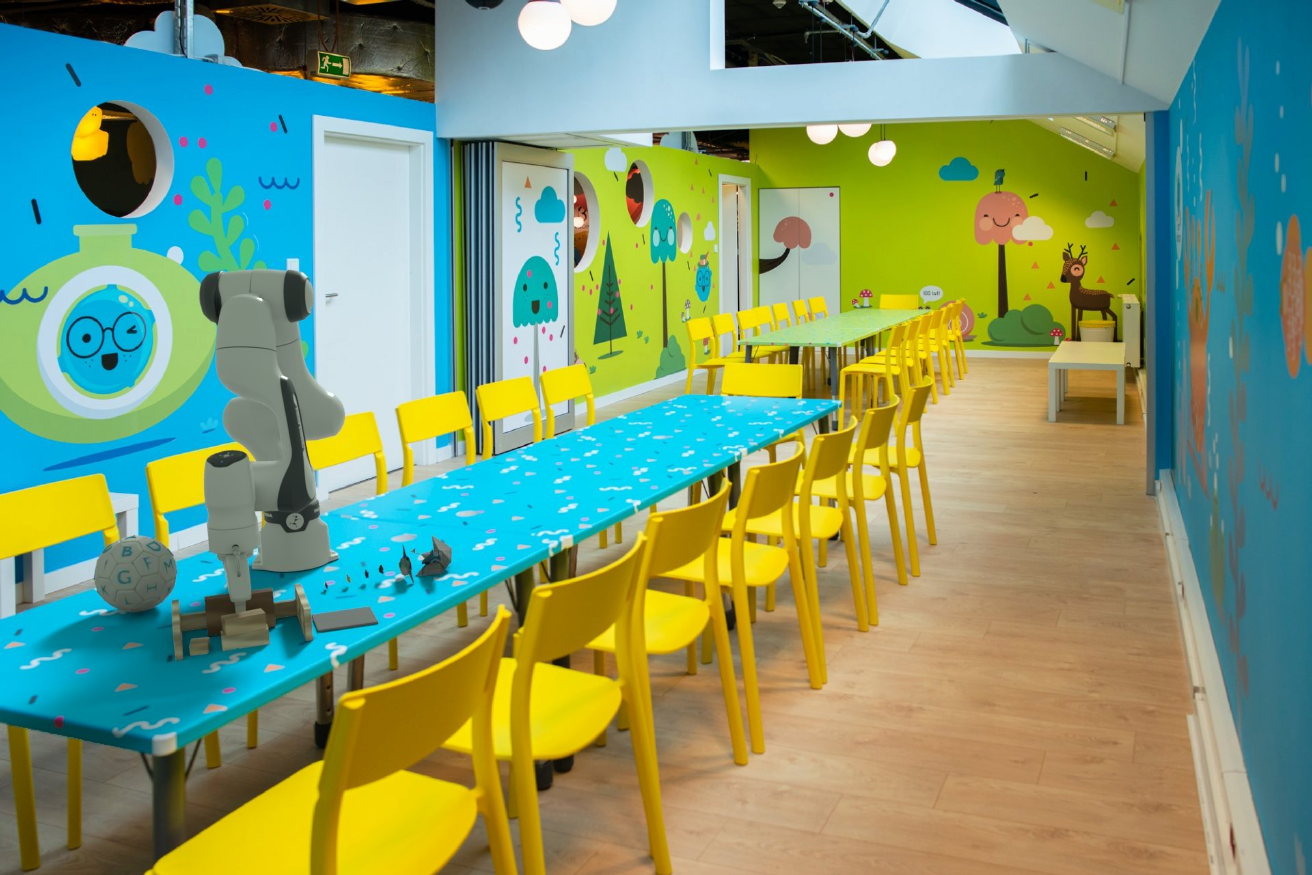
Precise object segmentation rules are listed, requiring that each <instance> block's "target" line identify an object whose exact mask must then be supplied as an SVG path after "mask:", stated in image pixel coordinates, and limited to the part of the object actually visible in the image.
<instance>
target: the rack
mask: <svg viewBox="0 0 1312 875" xmlns="http://www.w3.org/2000/svg"><path fill="white" fill-rule="evenodd" d="M293 586H294V598H293V599H286V600H277V601H274V610H275V618H276V619H280V618H281V619H282V618H289V616H290V617H297V619H298V621H299V624H300V626H301V630H302V633H303V636H304V639H305V641H306V642H309V641H313V640H314V633H313V621H312V620H313V618H312V609H311V606H310V604H309V600H308V598H307V595H306V593H305V590H304V588H303V586H302V584H301V583H294V585H293ZM171 620H172V621H171V622H172V624H171V625H172V629H171V630H172V636H173V637H172V638H173V639H172V640H173V649H174V656H175V657H174V659H175V661H182V660H183V659H184V652H183V651H184V650H183V632H190V631H195V630H202V629H204V630H205V629H207V622H206V611H205V610H204V611H197V612H189V613H188V612H187V613H181V609H180V599H172V600H171Z"/></svg>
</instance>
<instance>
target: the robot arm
mask: <svg viewBox="0 0 1312 875" xmlns="http://www.w3.org/2000/svg"><path fill="white" fill-rule="evenodd" d="M199 287H200V288H199V292H198V302H199V305H200V308H201V312H202V314H203V315H204V316H205V318H206V319H208V320H209V322H211V323H214V324H215V325H216V326H217V330H216V335H215V336H216V338H215V368H216V374H217V377H218V380H219V381H220V383H221V384H222V385H223V387H225V389H227V390H228V391H229V392H231V393H233V394H234V395H236V396H237V397H233V398H231V399H230V400H229V401H228V402H227V403H226V406H225V407H224V409H223V414H222V425H223V428H224V430H225V432H226V433H227V435H228V436H229V438H231V440H233V441H234V442H236V443H238V444H239V445H241V446H242V447H244V449H246V450H247V452H249V453H250V454H251V456H252V457H253V458H254V460H250V458H249V455H248V453H247V452H245V451H243V450H236V449H225V450H222V451H218V452H214V453H213V454H211V455H209V456H207V458H206V460H205V462H204V470H203V497H204V498H203V499H204V505H205V508H206V510H207V513H208V514H207V515H208V516H207V522H206V527H207V528H206V529H207V530H206V531H207V538H208V539H207V540H208V549H209V550H208V551H209V552H210V553H211V554H214V555H215V554H216V558H217V560H218V561H221V562H222V565H223V569H224V573H225V579H226V584H227V589H228V593H229V596H230V600H231V601H232V602H234V603H235V611H236V613H239V612H244V611H246V600H250V599H251V590H252V584H251V575H250V567H249V566H250V565H249V560H248V559H250V558H252V557H253V556H254V550H258V551H257V554H256V556H255V557H254V559H253V561H252V564H251V569H252V570H265V571H270V572H277V573H278V572H280V573H281V572H282V573H283V572H285V573H286V572H287V573H288V572H297V571H298V572H299V571H304V570H305V571H307V570H311V569H315V568H318V567H320V566H324V565H326V564H328V563H330V562H333V561H335V560H338V559H340V556H339V553H338V552H336V551H335V550H333V549H331V545H330V544H331V543H330V535H329V527H328V524H327V523H326V522H325V521H324V520H322V519H321V518H320V515H321V505H320V500H319V499H318V498H317V485H316V471H315V469H314V466H313V465H312V464H311V460H310V456H309V451H308V445H307V442H309V441H319V440H325V439H327V438H331V437H336V436H337V435H338V434H339V433H340V432H341V430H342V429H343V426H344V424H345V419H346V411H345V407H344V404H343V402H342V401H341V400H340V398H339V397H338V396H337V395H336V394H334V393H333V392H331V391H329V390H327V389H326V388H325V387H323V386H322V385H321V384H319V382H318V381H317V380H316V379H315V378H314V377H313V376H312V374H311V372H310V371H309V369H308V367H307V363H306V361H305V356H304V350H303V346H302V338H301V331H300V325H299V322H300V321H305V320H306V319H307V318H308V317H309V316H310V315H311V313H312V309H313V308H314V302H315V291H314V288H313V284H312V283H311V280H310V278H309V277H308V276H307V275H306V274H305V273H304V272H302V271H298V270H293V269H287V270H280V269H272V268H270V269H269V268H254V269H240V270H231V271H224V270H220V271H214V272H211V273H207V274H206V275H205V277H203V279H202V280H201V282H200V286H199ZM256 512H262V514H263V520H264V521H265V523H264V526H263V527H261V528H260V530H259V522H258V516H257V515H256Z"/></svg>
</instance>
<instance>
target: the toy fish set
mask: <svg viewBox="0 0 1312 875" xmlns="http://www.w3.org/2000/svg"><path fill="white" fill-rule="evenodd" d="M401 546H402V557H401V558H400V561H399V562H398V568H399V571H400V573H401V576H404V577H406V576H409V577H410V580H411V581H412V584H414V583H415V582H414V581H415V580H414V578H413V573H412V570H413V567H412V562H411V561H412V560H411V558H410V557H409V556H408V555H407V553H406V550H405V546H404V544H403V543H402V544H401ZM437 548H438V547H437ZM433 550H434V549H433V548H432V549H431V550H430V551H431V552H430V551H429V552H430V554H429V556H427V557H426V558H425V559H424V558H423V559H422V561H421V565H423V566H424V565H425V564H426V565H428V564H431V563H435V562H436V561H437V560H438V559H439V560H440V561H441V556H440V555H439V550H438V554H437V553H435V552H434V551H433ZM437 563H440V562H437ZM440 564H441V563H440ZM426 565H425V566H426ZM441 565H442V564H441ZM423 566H422V567H423ZM425 566H424V567H425ZM424 567H423V568H424ZM442 567H443V568H445V567H444V566H443V565H442ZM423 568H421V569H422V574H424V573H423ZM377 570H378V572H379V574H381V575H384V573H385V572H384V567H383V565H382V564H379V566H378V568H377ZM345 575H346V581H347V582H348V583H349V584H351V578H350V576H349V575H348V573H346V574H345ZM369 575H370V573H369V571H368V570H367V569H364V576H365V578H366V579H369V577H370V576H369ZM324 586H325V589H326V590H328V589H329V584H328V583H327V582H326V581H325V582H324Z"/></svg>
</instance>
